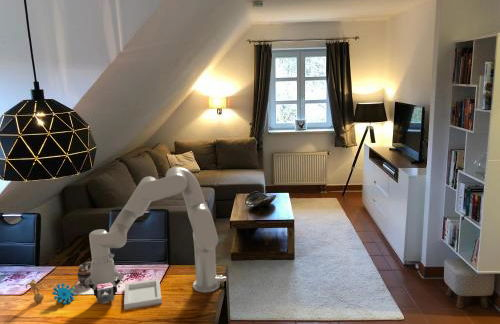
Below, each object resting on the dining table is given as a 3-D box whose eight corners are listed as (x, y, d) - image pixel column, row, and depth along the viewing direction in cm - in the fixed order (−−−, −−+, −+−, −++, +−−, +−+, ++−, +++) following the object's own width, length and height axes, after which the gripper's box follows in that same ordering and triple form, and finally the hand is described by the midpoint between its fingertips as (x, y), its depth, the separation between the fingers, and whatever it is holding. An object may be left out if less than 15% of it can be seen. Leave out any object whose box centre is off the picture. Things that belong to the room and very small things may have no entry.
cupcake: (73, 285, 191) (71, 266, 189) (88, 276, 200) (86, 257, 197) (89, 289, 187) (86, 270, 185) (104, 279, 196) (101, 260, 194)
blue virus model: (62, 306, 171) (49, 287, 173) (54, 313, 173) (42, 294, 175) (81, 296, 181) (69, 278, 183) (74, 303, 183) (63, 285, 185)
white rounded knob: (109, 299, 179) (108, 291, 178) (108, 303, 176) (108, 295, 175) (102, 300, 178) (101, 292, 177) (102, 304, 175) (101, 296, 174)
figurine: (50, 299, 180) (47, 274, 177) (43, 307, 174) (39, 281, 171) (33, 298, 180) (29, 274, 178) (24, 306, 174) (20, 281, 172)
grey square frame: (114, 292, 181) (114, 286, 180) (113, 302, 173) (113, 296, 172) (98, 294, 179) (98, 289, 178) (97, 304, 171) (96, 299, 170)
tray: (159, 283, 191) (159, 278, 191) (161, 303, 175) (161, 298, 174) (125, 288, 187) (125, 283, 187) (124, 309, 171) (124, 304, 170)
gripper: (122, 251, 178) (126, 287, 182) (80, 257, 174) (86, 294, 178) (122, 258, 171) (126, 296, 175) (78, 265, 167) (84, 303, 171)
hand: (106, 294), depth 176 cm, fingers closed on grey square frame, 6 cm apart
